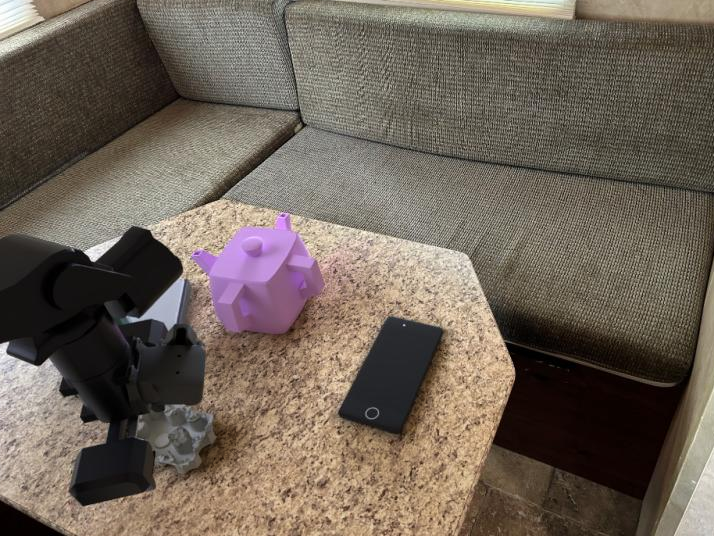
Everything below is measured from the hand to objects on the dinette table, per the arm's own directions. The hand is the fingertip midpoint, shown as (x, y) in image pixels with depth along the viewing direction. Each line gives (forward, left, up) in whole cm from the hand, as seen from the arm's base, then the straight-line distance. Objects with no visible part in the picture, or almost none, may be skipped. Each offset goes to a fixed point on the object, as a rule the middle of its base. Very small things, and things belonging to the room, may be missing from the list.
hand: (156, 447), depth 64 cm
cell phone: (+26, +14, -13) cm, 32 cm away
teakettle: (+8, +33, -13) cm, 37 cm away
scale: (-12, +29, -13) cm, 34 cm away
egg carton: (-3, +9, -13) cm, 16 cm away
